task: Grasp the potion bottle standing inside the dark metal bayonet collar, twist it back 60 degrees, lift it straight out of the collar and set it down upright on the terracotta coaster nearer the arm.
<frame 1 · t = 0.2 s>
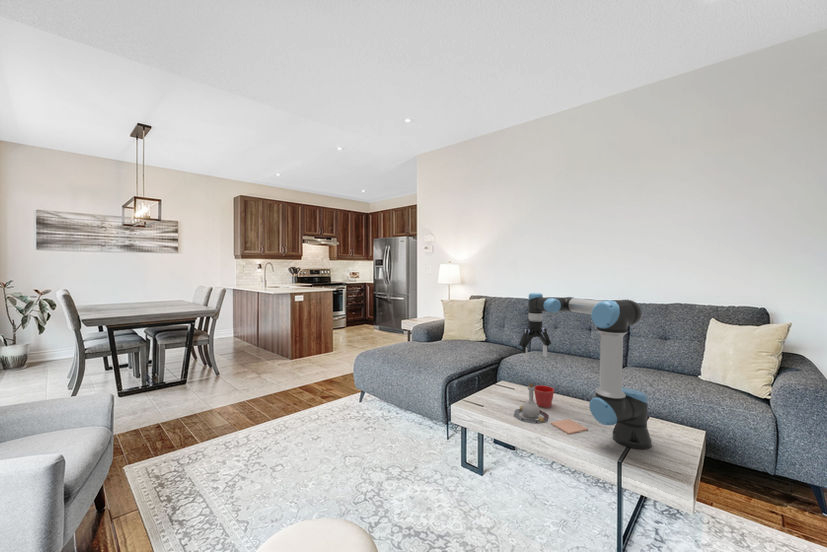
hand: (535, 357, 200), 28 cm above the table, fingers open, 13 cm apart
potion bottle: (531, 416, 187), resting in collar
coaster: (568, 427, 175), on the table
collar: (531, 416, 187), on the table
flower pot: (543, 405, 203), on the table
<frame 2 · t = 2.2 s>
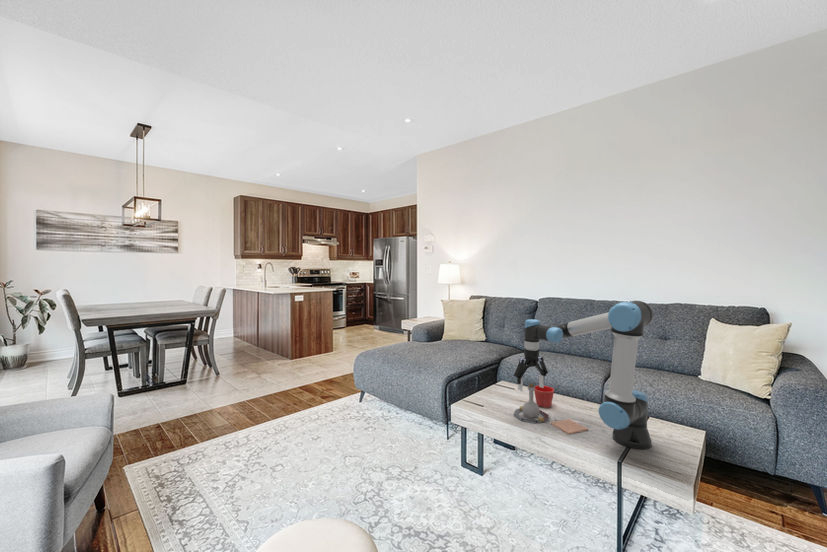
hand: (530, 388, 187), 15 cm above the table, fingers open, 13 cm apart
nothing on the table moved.
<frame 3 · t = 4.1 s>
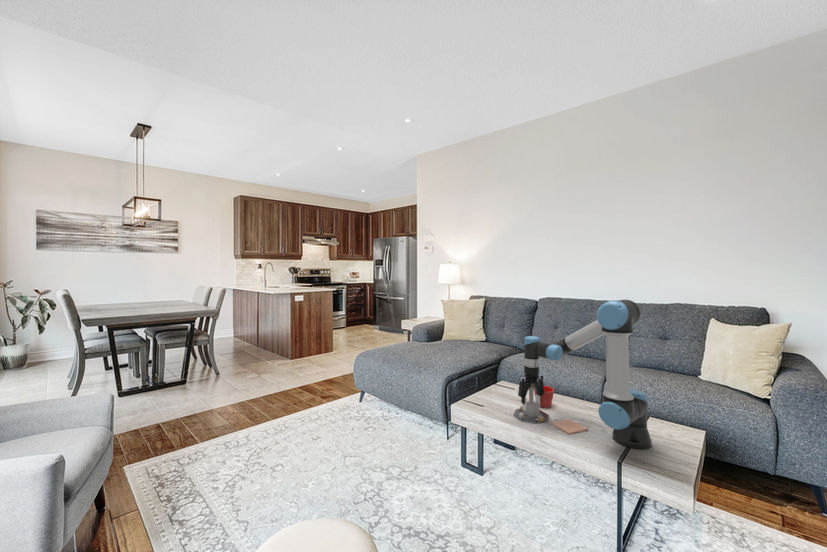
hand: (531, 408, 187), 4 cm above the table, fingers closed on potion bottle, 8 cm apart
potion bottle: (531, 416, 187), resting in collar, touching gripper
everything else where it was.
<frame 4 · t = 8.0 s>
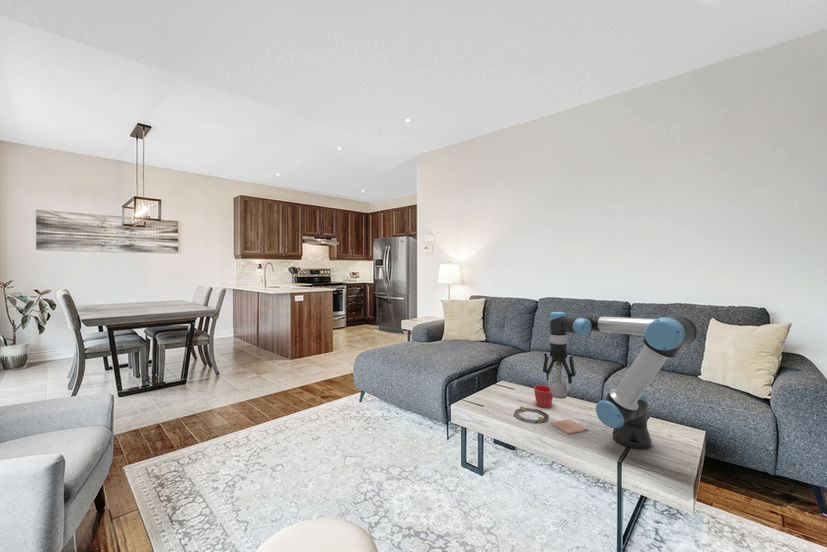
hand: (559, 388, 177), 18 cm above the table, fingers closed on potion bottle, 8 cm apart
potion bottle: (559, 396, 177), point 14 cm above the table, touching gripper
everything else where it was.
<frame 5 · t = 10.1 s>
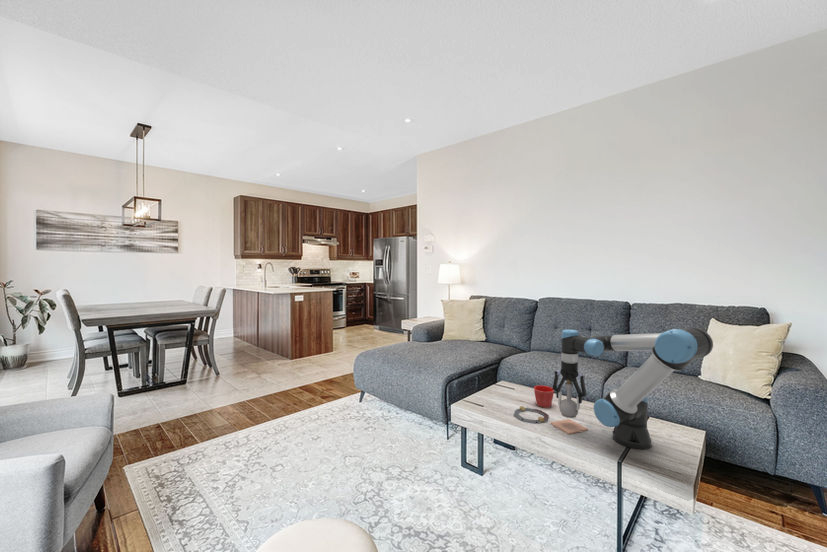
hand: (568, 407, 174), 10 cm above the table, fingers closed on potion bottle, 8 cm apart
potion bottle: (568, 415, 175), point 6 cm above the table, touching gripper
everything else where it was.
when the fingers open (6 cm above the table, at t = 11.7 s): potion bottle drops 1 cm, resting on coaster.
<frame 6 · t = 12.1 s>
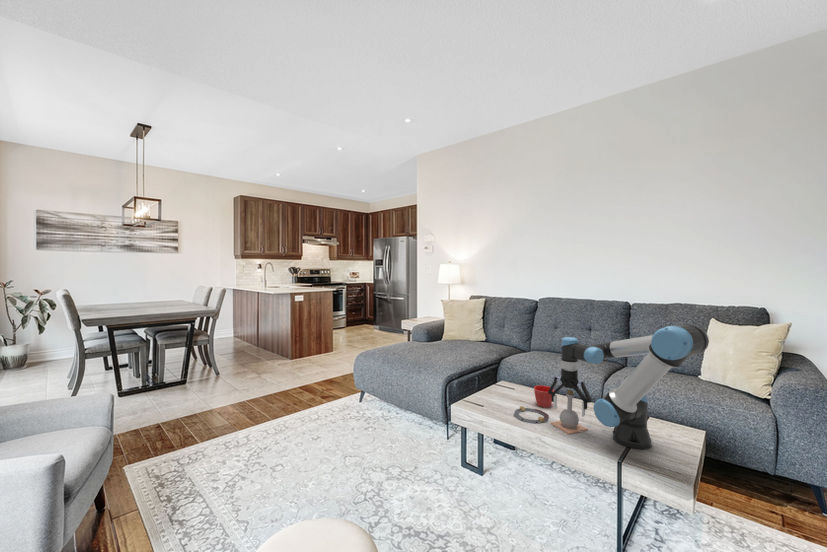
hand: (569, 411, 174), 8 cm above the table, fingers open, 13 cm apart
potion bottle: (569, 425, 174), point 1 cm above the table, touching coaster
everything else where it was.
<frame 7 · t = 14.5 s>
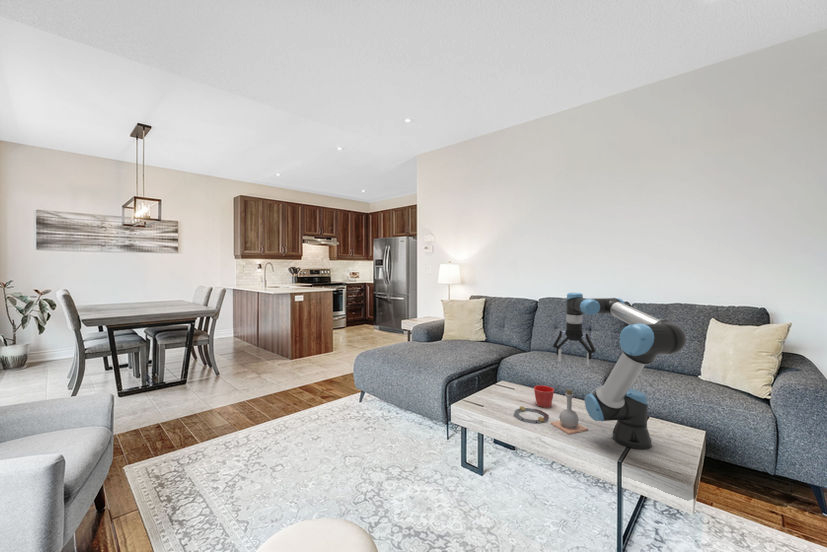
hand: (573, 363, 183), 29 cm above the table, fingers open, 13 cm apart
nothing on the table moved.
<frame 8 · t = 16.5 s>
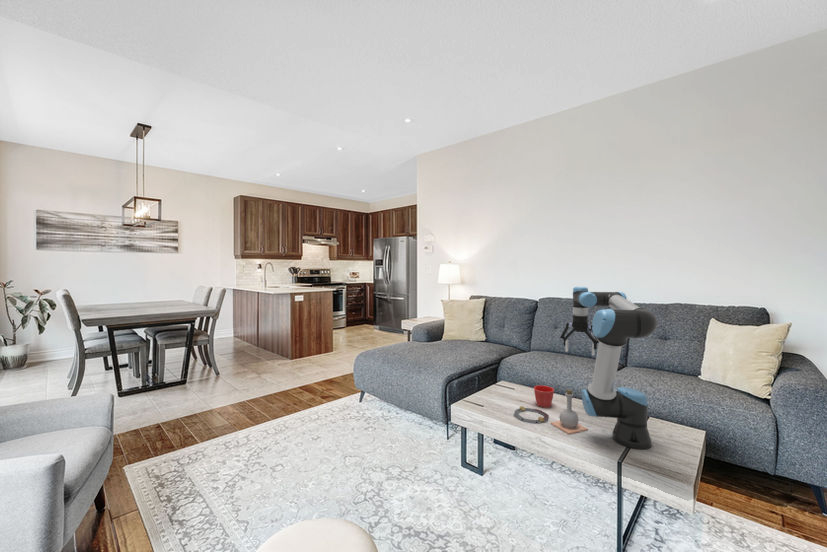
hand: (579, 353, 194), 32 cm above the table, fingers open, 13 cm apart
nothing on the table moved.
at the end: potion bottle inside the target area on the coaster (0.2 cm from its centre), point 0.6 cm above the coaster's base; potion bottle tilted 0°; the gripper is holding nothing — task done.
